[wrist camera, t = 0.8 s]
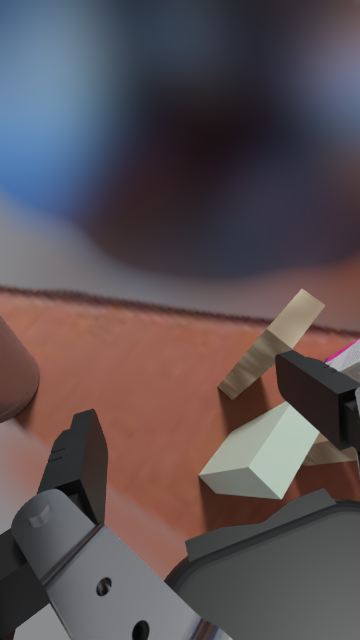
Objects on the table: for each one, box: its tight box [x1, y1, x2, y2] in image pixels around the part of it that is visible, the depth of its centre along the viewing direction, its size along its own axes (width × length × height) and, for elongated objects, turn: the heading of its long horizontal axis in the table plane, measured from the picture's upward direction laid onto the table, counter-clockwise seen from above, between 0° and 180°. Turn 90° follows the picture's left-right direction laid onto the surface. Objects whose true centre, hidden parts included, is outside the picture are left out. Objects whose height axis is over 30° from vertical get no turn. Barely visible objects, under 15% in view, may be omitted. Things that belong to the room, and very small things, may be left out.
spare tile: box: [199, 401, 319, 499], centre depth 24 cm, size 2×6×15 cm, turn 138°
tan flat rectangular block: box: [218, 289, 325, 400], centre depth 29 cm, size 2×6×15 cm, turn 138°
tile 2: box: [302, 432, 357, 466], centre depth 26 cm, size 2×6×15 cm, turn 138°
